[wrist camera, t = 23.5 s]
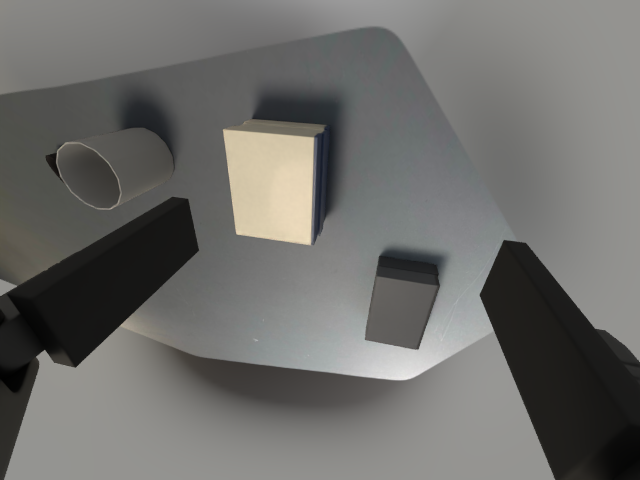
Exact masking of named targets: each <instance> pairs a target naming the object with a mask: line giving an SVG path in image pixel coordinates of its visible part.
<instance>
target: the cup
mask: <svg viewBox="0 0 640 480" xmlns="http://www.w3.org/2000/svg"><path fill="white" fill-rule="evenodd" d="M56 164H57V167H58V170H59V173H60V176H61V178H62V180H63V181H64V182H65V184H66V185H67V187H68V188H69V189H70V191H71V192H72V193H73V194H74V195H75V196H77V197H78V198H79V199H80V200H81V201H83V202H84V203H85V204H88V205H90V206H92V207H94V208H96V209H107V210H110V209H112V208H114V207H116V206H118V205H120V204H122V203H124V202H126V201H128V200H130V199H132V198H134V197H136V196H138V195H141V194H143V193H145V192H147V191H149V190H151V189H153V188H155V187H157V186H159V185H161V184H163V183H164V182H166V181H167V180H169V179H170V178H171V176H172V173H173V171H174V163H173V156H172V154H171V152H170V150H169V148H168V146H167V144H166V143H165V142H164V141H163V140H162V139H161V138H160V137H159V136H158V135H157V134H156V133H154V132H152V131H150V130H148V129H145V128H130V129H125V130H121V131H116V132H111V133H107V134H102V135H98V136H93V137H89V138H84V139H80V140H75V141H70V142H66V143H65V144H63V145H62V146H61V147H60V148H59V149H58V150H57V159H56Z"/></svg>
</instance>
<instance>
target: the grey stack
mask: <svg viewBox="0 0 640 480" xmlns="http://www.w3.org/2000/svg"><path fill="white" fill-rule="evenodd" d="M438 275H439V273H438V269H437V265H434V264H429V263H423V262H416V261H409V260H402V259H395V258H389V257H382V256H379V260H378V266H377V271H376V276H375V282H374V287H373V293H372V298H371V304H370V309H369V315H368V320H367V326H366V334H365V340H368V341H374V342H379V343H384V344H389V345H394V346H400V347H405V348H410V349H415V350H416V349H419V346H420V343H421V340H422V337H423V334H424V331H425V328H426V326H427V323H428V320H429V317H430V314H431V311H432V308H433V305H434V302H435V299H436V296H437V293H438V290H439V287H440V284H439V280H438Z"/></svg>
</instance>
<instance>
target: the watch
mask: <svg viewBox="0 0 640 480" xmlns="http://www.w3.org/2000/svg"><path fill="white" fill-rule="evenodd" d="M56 159H57V153H54V154H50V155H46V161H47V162H48V164H49V166H50V167H51V169H52V170H53V171H54V172H55V174H56V175H57V176H58V177H59V178H60V180H62V178H61V176H60V173H59V170H58V167H57V164H56ZM62 181H63V180H62ZM63 182H64V181H63ZM64 183H65V182H64Z"/></svg>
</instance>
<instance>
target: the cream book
mask: <svg viewBox="0 0 640 480" xmlns="http://www.w3.org/2000/svg"><path fill="white" fill-rule="evenodd" d="M223 132H224V139H225V147H226V155H227V163H228V171H229V179H230V187H231V195H232V203H233V211H234V219H235V227H236V234H239V235H245V236H252V237H259V238H266V239H273V240H279V241H286V242H293V243H300V244H307V245H314V243H315V241H316V238H317V234H318V211H319V189H320V166H321V144H322V133H314V132H302V131H291V130H279V129H267V128H255V127H244V126H232V127H229V128H226V129H223Z"/></svg>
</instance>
